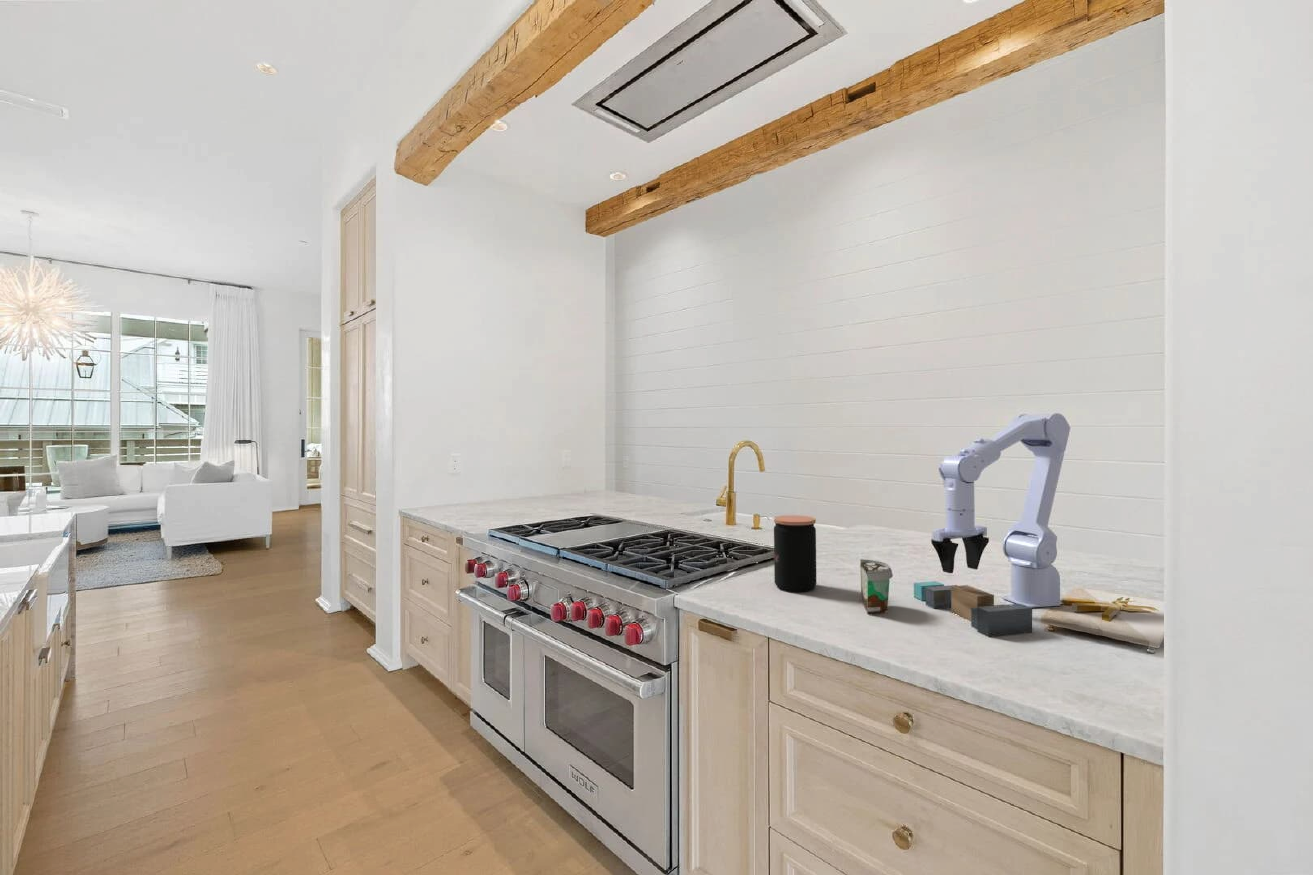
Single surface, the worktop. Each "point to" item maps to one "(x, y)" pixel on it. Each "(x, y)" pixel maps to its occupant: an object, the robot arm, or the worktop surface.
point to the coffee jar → (795, 553)
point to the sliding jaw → (933, 593)
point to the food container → (875, 586)
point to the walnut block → (968, 600)
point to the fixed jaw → (1002, 619)
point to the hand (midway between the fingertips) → (960, 570)
